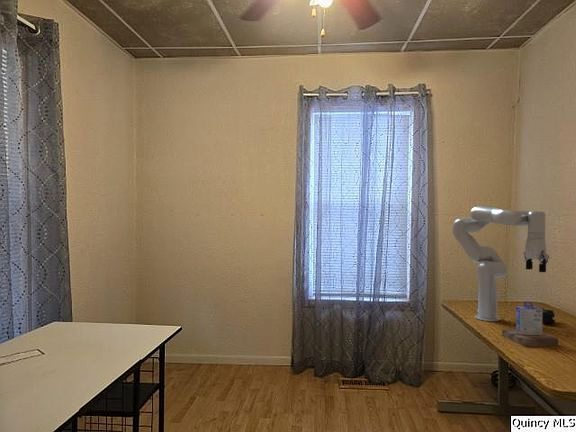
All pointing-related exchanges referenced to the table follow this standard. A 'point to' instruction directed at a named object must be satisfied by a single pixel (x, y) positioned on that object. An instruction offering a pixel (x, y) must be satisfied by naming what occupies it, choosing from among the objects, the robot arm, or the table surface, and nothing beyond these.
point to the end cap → (547, 317)
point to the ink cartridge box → (528, 320)
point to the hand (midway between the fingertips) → (535, 270)
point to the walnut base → (530, 338)
